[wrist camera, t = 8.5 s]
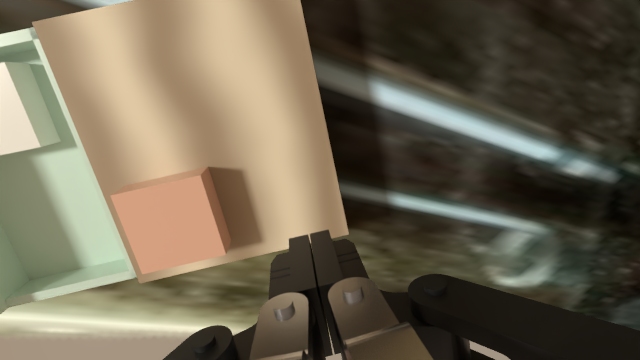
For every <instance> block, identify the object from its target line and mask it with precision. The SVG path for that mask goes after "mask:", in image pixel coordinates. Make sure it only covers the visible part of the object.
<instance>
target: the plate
mask: <svg viewBox="0 0 640 360" xmlns="http://www.w3.org/2000/svg"><path fill="white" fill-rule="evenodd" d="M32 24H33V26H34V29H35V31H36V34H37V36H38V38H39V41H40V43H41V46H42V48H43V51H44V53H45V55H46V58H47V60H48V63H49V65H50V68H51V70H52V72H53V75H54V77H55V80H56V82H57V84H58V87H59V89H60V92H61V94H62V97H63V99H64V101H65V104H66V106H67V109H68V111H69V114H70V116H71V118H72V121H73V123H74V126H75V128H76V130H77V133H78V135H79V138H80V140H81V143H82V145H83V147H84V150H85V152H86V155H87V157H88V160H89V162H90V164H91V167H92V169H93V172H94V174H95V176H96V179H97V181H98V184H99V186H100V189H101V191H102V193H103V196H104V198H105V201H106V203H107V206H108V208H109V210H110V213H111V215H112V218H113V220H114V223H115V225H116V227H117V230H118V232H119V235H120V237H121V239H122V242H123V244H124V247H125V249H126V252H127V254H128V256H129V259H130V261H131V264H132V266H133V269H134V271H135V273H136V276H137V278H138V281H139V283H144V282H148V281H152V280H156V279H161V278H165V277H169V276H173V275H178V274H182V273H186V272H190V271H195V270H199V269H203V268H207V267H212V266H216V265H220V264H224V263H229V262H233V261H237V260H241V259H246V258H250V257H254V256H258V255H263V254H267V253H271V252H276V251H280V250H284V249H288V248H289V238H294V237H298V236H302V235H306V234H308V236H309V240H310V243H311V239H310V233H315V232H319V231H323V230H328V229H329V232H330V235H331V238H335V237H339V236H344V235H348V234H349V233H348V228H347V223H346V219H345V214H344V209H343V204H342V199H341V194H340V190H339V185H338V180H337V175H336V170H335V165H334V161H333V156H332V151H331V146H330V141H329V136H328V132H327V127H326V122H325V117H324V112H323V107H322V103H321V98H320V93H319V88H318V83H317V78H316V74H315V69H314V64H313V59H312V54H311V50H310V45H309V40H308V35H307V30H306V25H305V21H304V16H303V11H302V6H301V1H300V0H133V1H129V2H124V3H119V4H115V5H110V6H105V7H101V8H96V9H91V10H87V11H82V12H77V13H73V14H68V15H63V16H58V17H54V18H49V19H44V20H40V21H35V22H32ZM204 167H208V168H209V171H210V174H211V177H212V181H213V184H214V187H215V190H216V193H217V197H218V200H219V203H220V206H221V209H222V212H223V216H224V219H225V222H226V225H227V228H228V232H229V235H230V238H231V242H230V245H229V248H228V251H227V253H226V255H223V256H219V257H215V258H210V259H206V260H202V261H198V262H193V263H189V264H185V265H180V266H176V267H172V268H168V269H163V270H159V271H155V272H151V273H146V274H142V273H141V270H140V268H139V265H138V263H137V260H136V258H135V255H134V253H133V250H132V248H131V245H130V243H129V241H128V238H127V236H126V233H125V231H124V228H123V226H122V223H121V221H120V218H119V216H118V214H117V211H116V209H115V206H114V204H113V201H112V199H111V196H110V195H112V194H113V193H115V192H116V191H118V190H120V189H121V188H123V187H124V186H126V185H129V184H134V183H138V182H142V181H147V180H151V179H156V178H160V177H164V176H169V175H173V174H178V173H182V172H186V171H191V170H195V169H200V168H204Z"/></svg>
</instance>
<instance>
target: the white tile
mask: <svg viewBox="0 0 640 360" xmlns="http://www.w3.org/2000/svg"><path fill="white" fill-rule="evenodd" d="M57 142H61V140H60V138H59V135H58V133H57V131H56V128H55V126H54V123H53V121H52V118H51V116H50V114H49V111H48V109H47V106H46V104H45V101H44V99H43V97H42V94H41V92H40V89H39V87H38V84H37V82H36V80H35V77H34V75H33V72H32V70H31V67H30V65H29V64H28V63H12V62H2V63H0V155H4V154H9V153H14V152H19V151H24V150H29V149H33V148H38V147H43V146H46V145H50V144H54V143H57Z"/></svg>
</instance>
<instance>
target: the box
mask: <svg viewBox="0 0 640 360" xmlns="http://www.w3.org/2000/svg"><path fill="white" fill-rule="evenodd" d="M2 62H12V63H28V64H29V65H30V67H31V70H32V72H33V75H34V77H35V80H36V82H37V84H38V87H39V89H40V92H41V94H42V97H43V99H44V101H45V104H46V106H47V109H48V111H49V114H50V116H51V118H52V121H53V123H54V126H55V128H56V131H57V133H58V135H59V138H60V140H61V142H57V143H54V144H50V145H46V146H43V147H38V148H33V149H29V150H24V151H19V152H14V153H9V154H4V155H0V314H1V313H2V312H4V311H5V310H6V309H7V308H9V307H12V306H17V305H21V304H25V303H29V302H34V301H38V300H42V299H46V298H51V297H55V296H59V295H64V294H68V293H72V292H76V291H81V290H85V289H89V288H93V287H98V286H102V285H106V284H110V283H115V282H119V281H123V280H128V279H132V278H136V277H137V276H136V273H135V271H134V269H133V266H132V264H131V261H130V259H129V256H128V254H127V252H126V249H125V247H124V244H123V242H122V239H121V237H120V235H119V232H118V230H117V227H116V225H115V223H114V220H113V218H112V215H111V213H110V210H109V208H108V206H107V203H106V201H105V198H104V196H103V193H102V191H101V189H100V186H99V184H98V181H97V179H96V176H95V174H94V172H93V169H92V167H91V164H90V162H89V160H88V157H87V155H86V152H85V150H84V147H83V145H82V143H81V140H80V138H79V135H78V133H77V130H76V128H75V126H74V123H73V121H72V118H71V116H70V114H69V111H68V109H67V106H66V104H65V101H64V99H63V97H62V94H61V92H60V89H59V87H58V84H57V82H56V80H55V77H54V75H53V72H52V70H51V68H50V65H49V63H48V60H47V58H46V55H45V53H44V51H43V48H42V46H41V43H40V41H39V38H38V36H37V34H36V31H35V29H34V27H33V28H28V29H23V30H19V31H14V32H9V33H5V34H0V63H2Z"/></svg>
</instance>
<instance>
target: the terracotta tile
mask: <svg viewBox="0 0 640 360" xmlns="http://www.w3.org/2000/svg"><path fill="white" fill-rule="evenodd" d="M110 196H111V199H112V201H113V204H114V206H115V209H116V211H117V214H118V216H119V218H120V221H121V223H122V226H123V228H124V231H125V233H126V236H127V238H128V241H129V243H130V245H131V248H132V250H133V253H134V255H135V258H136V260H137V263H138V265H139V268H140V270H141V273H142V274H146V273H151V272H155V271H159V270H163V269H168V268H172V267H176V266H180V265H185V264H189V263H193V262H198V261H202V260H206V259H210V258H215V257H219V256H223V255H226V253H227V251H228V248H229V245H230V242H231V238H230V235H229V232H228V228H227V225H226V222H225V219H224V216H223V212H222V209H221V206H220V203H219V200H218V197H217V193H216V190H215V187H214V184H213V181H212V177H211V174H210V171H209V168H208V167H204V168H200V169H195V170H191V171H186V172H182V173H178V174H173V175H169V176H164V177H160V178H156V179H151V180H147V181H142V182H138V183H134V184H129V185H126V186H124V187H123V188H121V189H120V190H118V191H116V192H115V193H113V194H112V195H110Z"/></svg>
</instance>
